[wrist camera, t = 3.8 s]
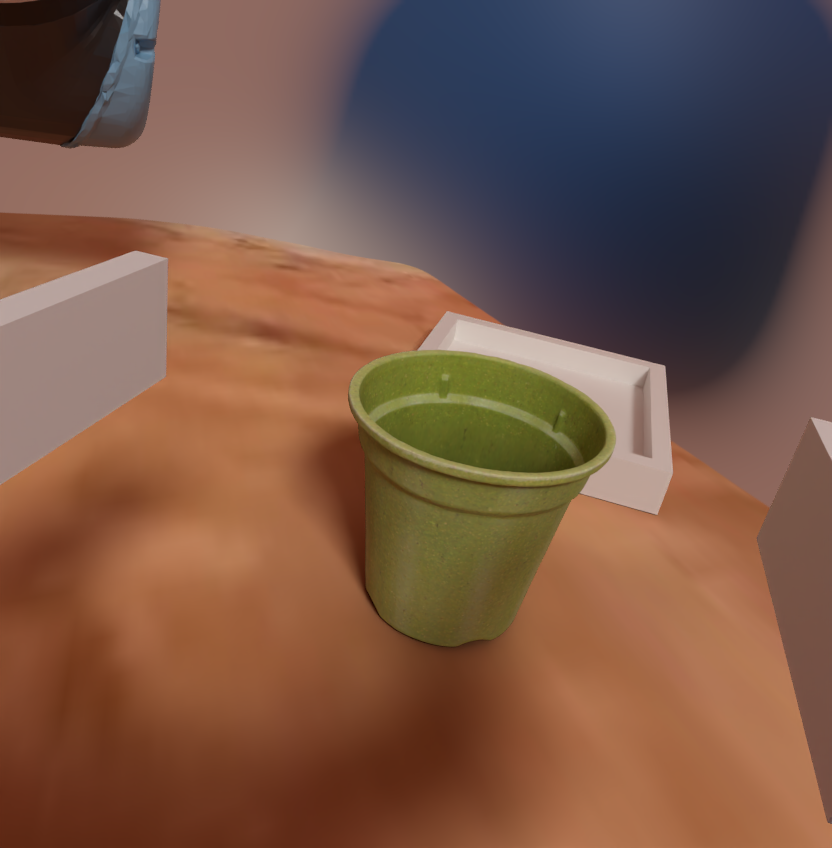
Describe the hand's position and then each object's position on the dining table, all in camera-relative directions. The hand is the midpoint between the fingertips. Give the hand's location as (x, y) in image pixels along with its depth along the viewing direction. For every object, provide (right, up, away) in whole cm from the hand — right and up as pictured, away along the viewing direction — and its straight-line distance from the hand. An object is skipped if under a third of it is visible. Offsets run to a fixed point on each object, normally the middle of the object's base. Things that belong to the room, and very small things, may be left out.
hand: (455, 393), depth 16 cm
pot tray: (+6, 0, +31) cm, 32 cm away
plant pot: (0, -8, +15) cm, 17 cm away
